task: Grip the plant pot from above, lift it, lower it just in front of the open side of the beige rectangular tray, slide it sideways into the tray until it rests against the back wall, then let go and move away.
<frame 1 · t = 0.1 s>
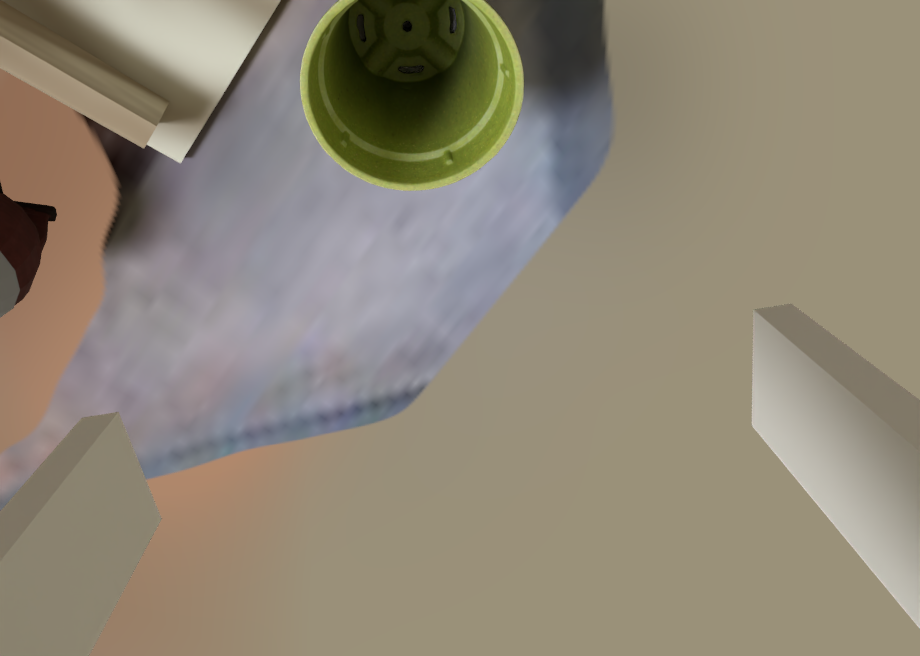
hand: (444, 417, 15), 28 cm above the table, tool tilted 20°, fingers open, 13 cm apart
plant pot: (406, 23, 36), on the table
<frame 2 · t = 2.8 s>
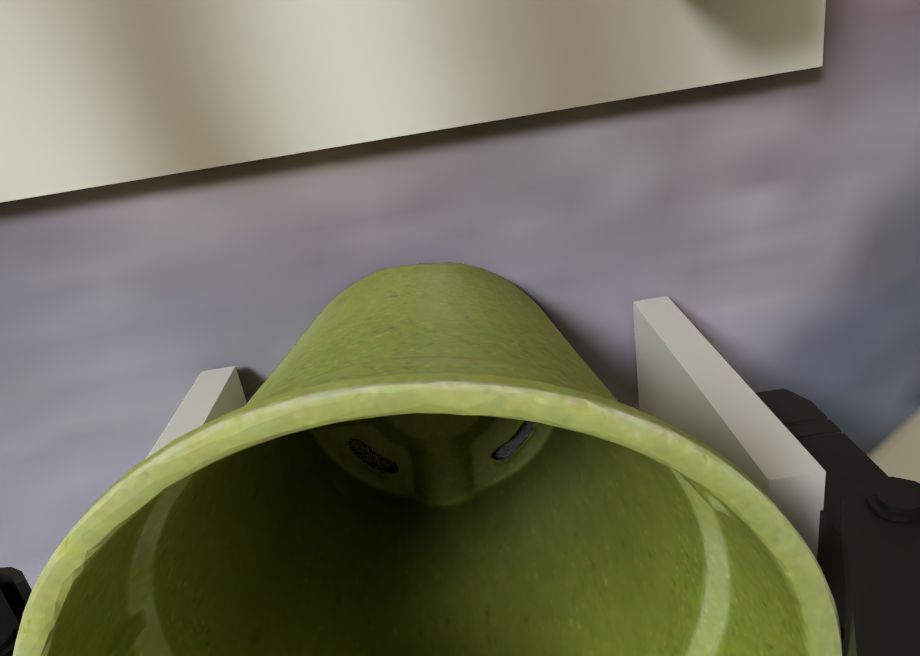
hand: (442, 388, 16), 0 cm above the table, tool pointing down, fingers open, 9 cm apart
plant pot: (430, 383, 16), on the table, touching gripper
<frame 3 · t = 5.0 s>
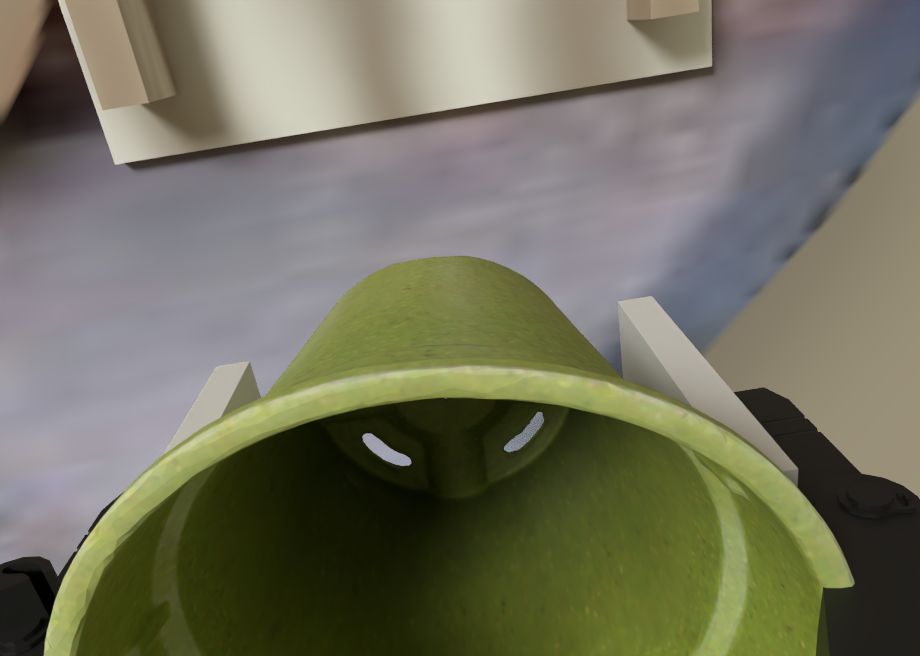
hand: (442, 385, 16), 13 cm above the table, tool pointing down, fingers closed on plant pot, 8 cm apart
plant pot: (442, 376, 16), point 13 cm above the table, touching gripper
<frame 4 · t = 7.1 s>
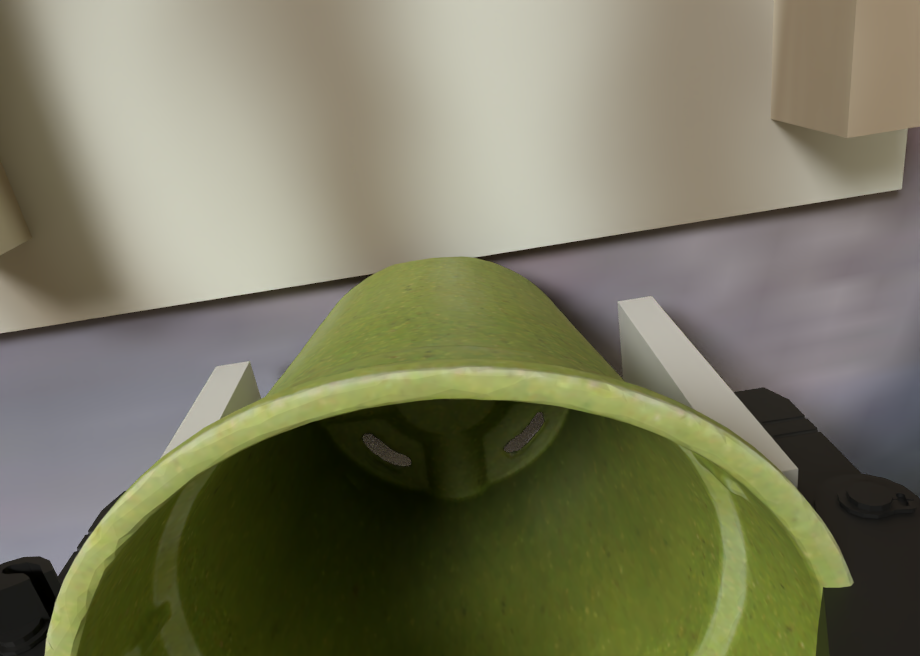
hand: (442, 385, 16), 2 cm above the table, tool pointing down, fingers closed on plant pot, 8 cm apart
plant pot: (442, 377, 16), point 1 cm above the table, touching gripper
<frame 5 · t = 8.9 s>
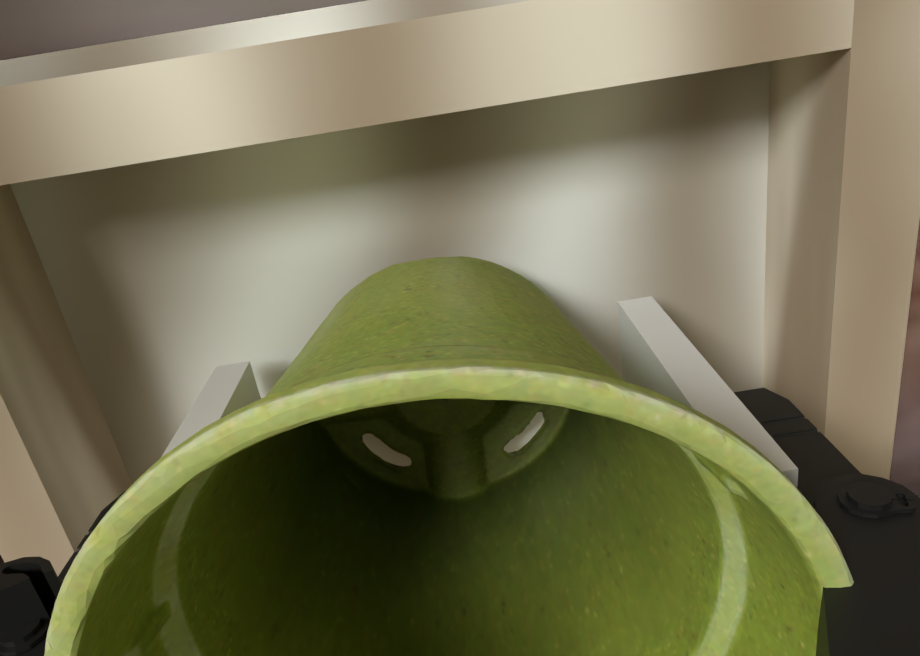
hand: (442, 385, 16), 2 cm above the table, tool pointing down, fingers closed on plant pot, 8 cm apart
beige rectangular tray: (428, 336, 17), on the table
plant pot: (442, 376, 16), point 1 cm above the table, touching gripper
when the fingers open (2 cm above the table, at t = 10.5 s): plant pot moves 4 cm, resting on beige rectangular tray.
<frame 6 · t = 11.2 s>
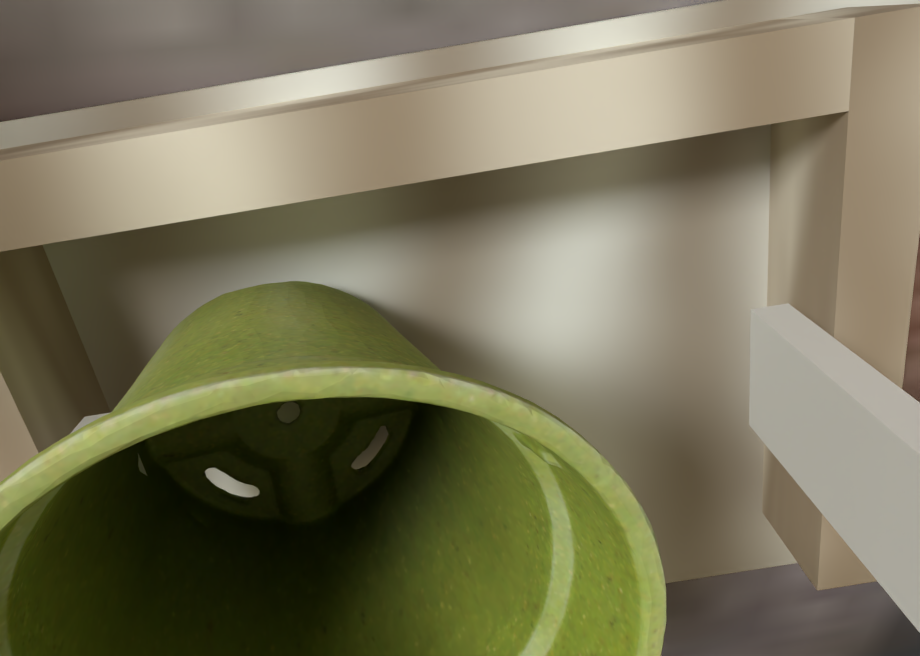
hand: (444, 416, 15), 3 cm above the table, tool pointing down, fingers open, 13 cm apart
beige rectangular tray: (440, 372, 18), on the table
plant pot: (284, 402, 16), point 1 cm above the table, touching beige rectangular tray, gripper
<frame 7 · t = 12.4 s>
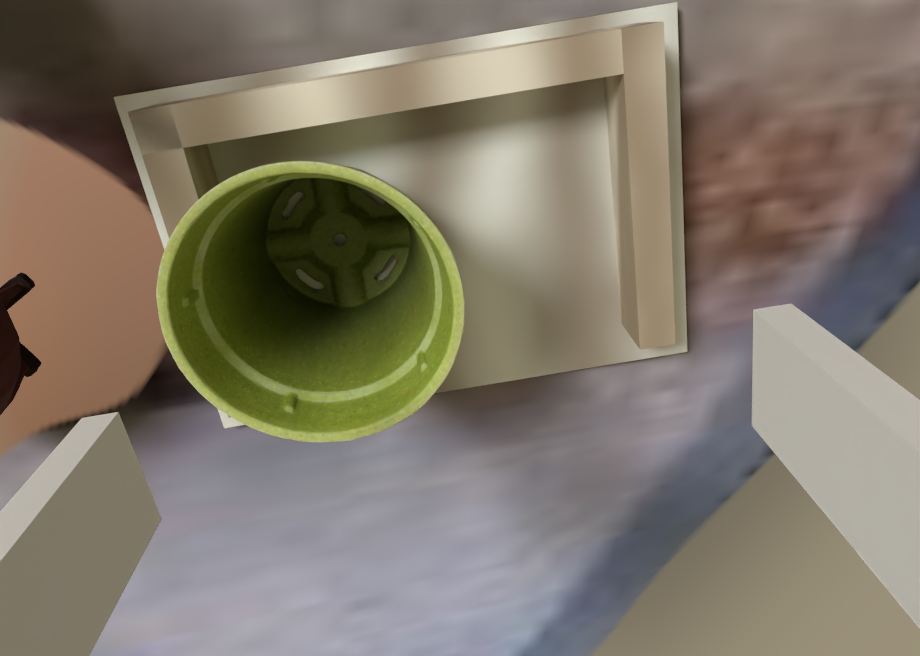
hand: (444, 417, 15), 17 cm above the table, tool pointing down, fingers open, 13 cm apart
beige rectangular tray: (427, 232, 30), on the table
plant pot: (339, 237, 30), resting on beige rectangular tray
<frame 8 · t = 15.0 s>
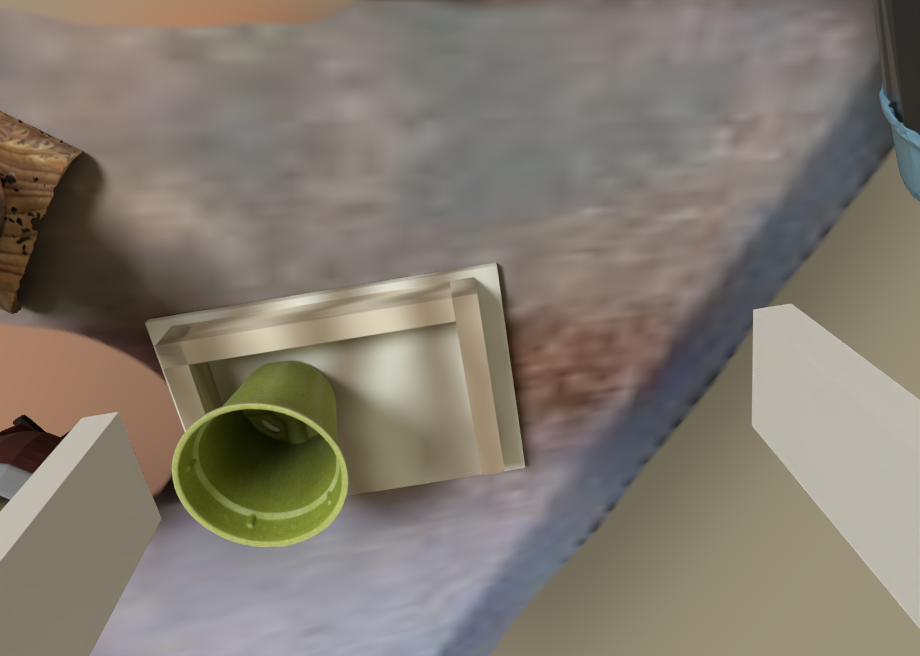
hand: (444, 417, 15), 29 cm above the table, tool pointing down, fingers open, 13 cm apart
mate gourd: (55, 440, 47), on the table
beige rectangular tray: (347, 395, 47), on the table
plant pot: (289, 399, 46), resting on beige rectangular tray
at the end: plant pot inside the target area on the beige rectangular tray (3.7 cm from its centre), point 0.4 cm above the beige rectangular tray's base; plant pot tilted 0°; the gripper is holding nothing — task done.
